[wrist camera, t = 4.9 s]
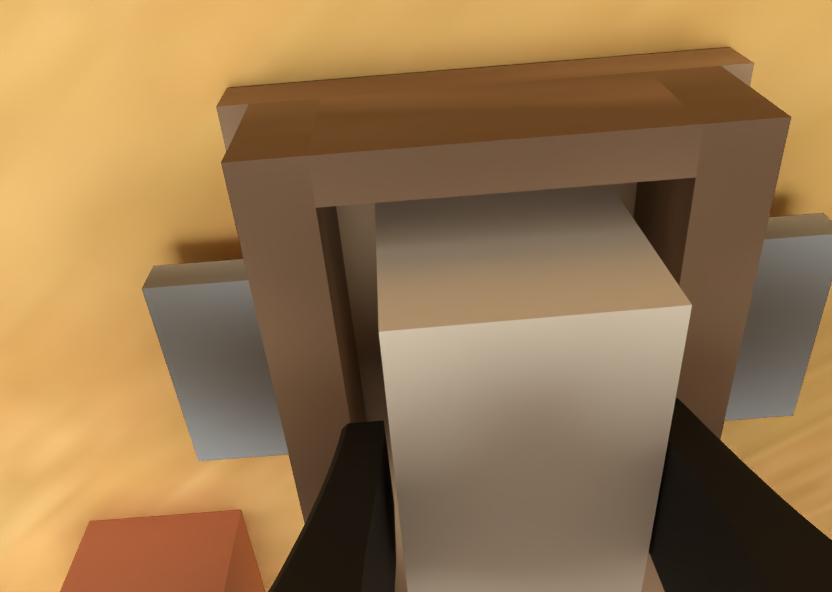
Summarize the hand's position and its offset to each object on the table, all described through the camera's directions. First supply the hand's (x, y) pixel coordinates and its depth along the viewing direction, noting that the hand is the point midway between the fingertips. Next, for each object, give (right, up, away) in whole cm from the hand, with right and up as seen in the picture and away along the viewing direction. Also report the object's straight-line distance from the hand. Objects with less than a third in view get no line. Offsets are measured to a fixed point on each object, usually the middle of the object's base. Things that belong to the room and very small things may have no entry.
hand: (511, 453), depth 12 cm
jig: (0, 0, +5) cm, 5 cm away
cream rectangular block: (0, +2, +3) cm, 3 cm away
